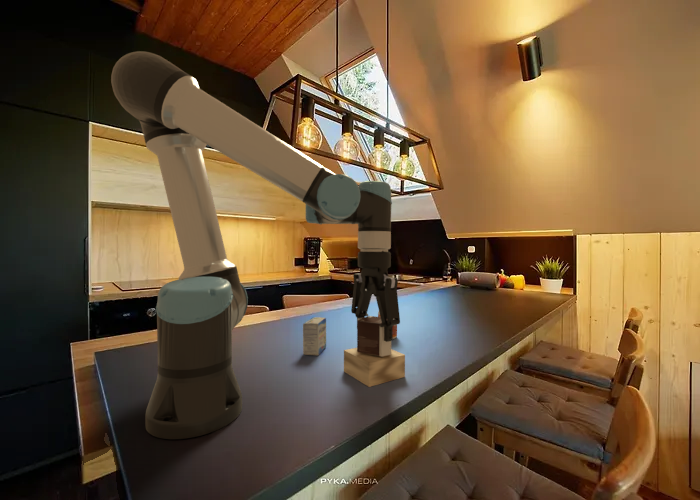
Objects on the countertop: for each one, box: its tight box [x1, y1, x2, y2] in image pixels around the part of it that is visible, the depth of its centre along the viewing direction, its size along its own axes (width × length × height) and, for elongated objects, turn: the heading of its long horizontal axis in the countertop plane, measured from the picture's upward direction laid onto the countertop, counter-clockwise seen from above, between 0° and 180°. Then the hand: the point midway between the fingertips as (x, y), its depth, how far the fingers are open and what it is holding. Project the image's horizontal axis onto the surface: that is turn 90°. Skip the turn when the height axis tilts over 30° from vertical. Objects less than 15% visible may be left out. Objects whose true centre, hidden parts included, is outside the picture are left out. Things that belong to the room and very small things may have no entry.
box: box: [356, 315, 382, 356], centre depth 75 cm, size 6×6×7 cm
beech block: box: [343, 347, 406, 388], centre depth 75 cm, size 10×10×5 cm
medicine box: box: [302, 316, 327, 356], centre depth 92 cm, size 8×4×9 cm, turn 168°
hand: (373, 349), depth 75 cm, fingers closed on box, 8 cm apart
